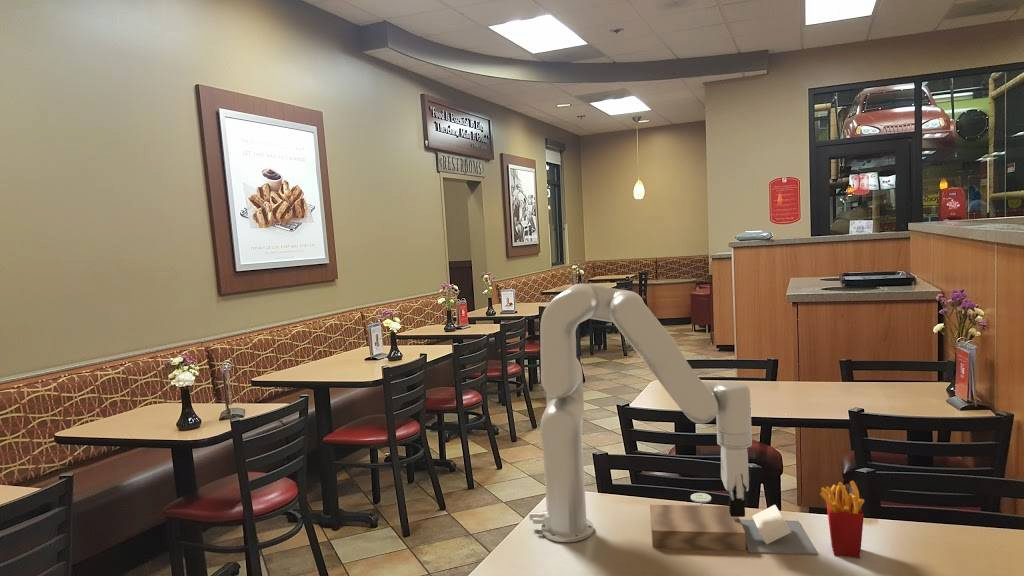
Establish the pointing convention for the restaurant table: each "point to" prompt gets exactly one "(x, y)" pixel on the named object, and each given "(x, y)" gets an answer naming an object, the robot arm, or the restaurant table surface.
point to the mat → (778, 540)
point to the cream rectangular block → (771, 524)
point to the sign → (701, 498)
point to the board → (696, 527)
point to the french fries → (844, 520)
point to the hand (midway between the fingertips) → (737, 515)
